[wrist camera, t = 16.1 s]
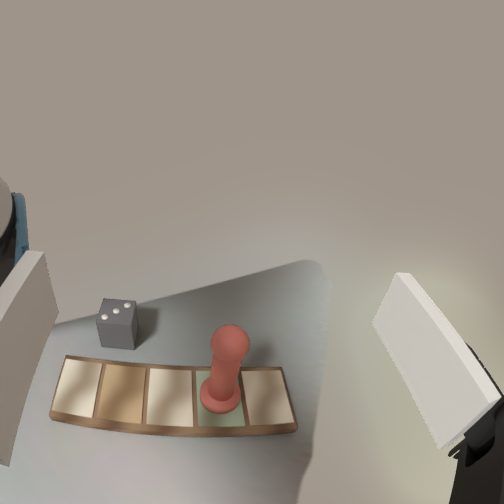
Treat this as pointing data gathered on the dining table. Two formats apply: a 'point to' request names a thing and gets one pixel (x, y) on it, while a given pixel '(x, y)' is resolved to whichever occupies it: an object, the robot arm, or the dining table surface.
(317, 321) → the dining table surface
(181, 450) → the dining table surface
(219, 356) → the pawn
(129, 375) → the board
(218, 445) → the dining table surface
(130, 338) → the die
